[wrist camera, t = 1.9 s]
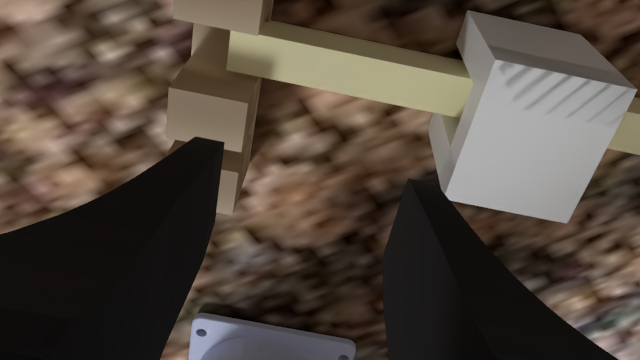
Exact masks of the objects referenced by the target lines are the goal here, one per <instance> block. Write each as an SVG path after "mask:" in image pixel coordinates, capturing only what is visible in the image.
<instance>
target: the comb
mask: <svg viewBox="0 0 640 360" xmlns="http://www.w3.org/2000/svg"><path fill="white" fill-rule="evenodd" d="M273 2H274V0H174V11H173V18H174V19H179V20H184V21H188V22H193V23H194V27H193V40H192V52H191V57H190V59H189V60H188V62H187V63H186V64H185V66H184V67H183V68H182V70H181V71H180V73H179V74H178V75H177V77H176V78H175V80H174V81H173V82H172V84H171V85H170V87H169V94H168V111H167V128H166V138H170V139H175V141H174V143H173V145H172V147H171V148H170V150H169V152H168V153H167V155H166V156H168V155H169V154H171V153H172V152H174V151H175V150H176V149H178V148H179V147H181V146H182V145H183V144H185V143H186V142H188V141H189V140H191V139H192V138H194V137H196V136H197V137H202V138H207V139H212V140H217V141H222V142H225V144H224V152H223V160H222V168H221V176H220V185H219V193H218V201H217V209H216V212H217V213H222V214H227V215H233V212H234V209H235V206H236V203H237V200H238V197H239V194H240V191H241V188H242V185H243V181H244V178H245V175H246V172H247V169H248V166H249V161H250V155H251V148H252V141H253V135H254V128H255V122H256V115H257V108H258V102H259V95H260V89H261V82H262V77H258V76H253V75H248V74H243V73H238V72H233V71H229V70H226V67H227V59H228V50H229V41H230V33H231V31H236V32H241V33H246V34H250V35H255V36H258V35H259V32H260V30H261V28H262V26H263V24H264V22H269V23H270V21H271V16H272V9H273Z"/></svg>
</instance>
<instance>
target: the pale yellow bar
mask: <svg viewBox="0 0 640 360" xmlns="http://www.w3.org/2000/svg"><path fill="white" fill-rule="evenodd" d="M226 70H229V71H233V72H238V73H243V74H248V75H253V76H258V77H263V78H267V79H272V80H277V81H282V82H287V83H292V84H297V85H301V86H306V87H311V88H316V89H321V90H326V91H331V92H335V93H340V94H345V95H350V96H355V97H360V98H365V99H369V100H374V101H379V102H384V103H389V104H394V105H399V106H403V107H408V108H413V109H418V110H423V111H428V112H433V113H437V114H442V115H447V116H452V117H457V118H461V116H462V113H463V110H464V108H465V105H466V102H467V99H468V97H469V94H470V91H471V88H472V85H473V82H472V80H471V77H470V75H469V73H468V70H467V68H466V66H465V63H464V61H461V60H457V59H452V58H447V57H442V56H438V55H433V54H428V53H423V52H419V51H414V50H409V49H405V48H400V47H395V46H390V45H386V44H381V43H376V42H371V41H367V40H362V39H357V38H352V37H348V36H343V35H338V34H333V33H329V32H324V31H319V30H315V29H310V28H305V27H300V26H296V25H291V24H286V23H281V22H277V21H272V20H271V21H270V23H269V22H264V24H263V26H262V28H261V30H260V32H259V35H258V36H255V35H250V34H246V33H241V32H236V31H231V33H230V41H229V50H228V59H227V67H226ZM607 148H608V149H612V150H617V151H622V152H627V153H632V154H637V155H640V98H637V97H634V98H633V100H632V102H631V103H630V105H629V107H628V109H627V111H626V113H625V115H624V117H623V119H622V121H621V122H620V124H619V126H618V128H617V130H616V132H615V134H614V136H613V138H612V140H611V141H610V143H609V145H608V147H607Z"/></svg>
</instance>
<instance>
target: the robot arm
mask: <svg viewBox="0 0 640 360" xmlns="http://www.w3.org/2000/svg"><path fill="white" fill-rule="evenodd" d="M224 144H225V142H222V141H217V140H212V139H207V138H202V137H197V136H196V137H194V138H192V139H191V140H189V141H188V142H186V143H185V144H183V145H182V146H181V147H179V148H178V149H176V150H175V151H174V152H172V153H171V154H169V155H168V156H166V157H165V158H164V159H162V160H161V161H159V162H158V163H156V164H155V165H153V166H152V167H150V168H149V169H147V170H145V171H144V172H142V173H141V174H139V175H138V176H136V177H135V178H133V179H131V180H129V181H128V182H126V183H124V184H122V185H121V186H119V187H117V188H115V189H114V190H112V191H110V192H108V193H107V194H105V195H103V196H101V197H99V198H97V199H94V200H92V201H90V202H88V203H86V204H84V205H81V206H79V207H77V208H74V209H72V210H70V211H67V212H65V213H63V214H60V215H58V216H55V217H52V218H49V219H46V220H43V221H40V222H37V223H34V224H32V225H29V226H26V227H23V228H20V229H17V230H14V231H11V232H7V233H4V234H0V360H160V358H161V355H162V352H163V350H164V347H165V345H166V342H167V340H168V338H169V336H170V333H171V331H172V329H173V327H174V325H175V322H176V320H177V318H178V316H179V313H180V311H181V309H182V307H183V305H184V302H185V300H186V298H187V296H188V293H189V291H190V289H191V287H192V284H193V282H194V280H195V278H196V275H197V273H198V271H199V269H200V266H201V264H202V262H203V259H204V256H205V253H206V250H207V246H208V243H209V240H210V236H211V233H212V230H213V226H214V223H215V217H216V209H217V201H218V193H219V185H220V176H221V168H222V160H223V152H224ZM382 295H383V306H384V316H385V327H386V336H387V346H388V356H389V360H618V359H617V358H615V357H614V356H612V355H611V354H609V353H608V352H606V351H605V350H603V349H602V348H601V347H599V346H598V345H596V344H595V343H593V342H592V341H591V340H589V339H588V338H587V337H585V336H584V335H583V334H581V333H580V332H579V331H577V330H576V329H575V328H573V327H572V326H571V325H570V324H568V323H567V322H566V321H564V320H563V319H562V318H561V317H559V316H558V315H557V314H556V313H554V312H553V311H552V310H551V309H550V308H548V307H547V306H546V305H545V304H544V303H543V302H542V301H541V300H539V299H538V298H537V297H536V296H535V295H534V294H533V293H532V292H531V291H529V290H528V289H527V288H526V287H525V286H524V285H523V284H522V283H521V282H520V281H519V280H518V279H517V278H516V277H515V276H514V275H513V274H512V273H511V272H510V271H509V270H508V269H507V268H506V267H505V266H504V265H503V264H502V263H501V262H500V260H499V259H498V258H497V257H496V256H495V255H494V254H493V253H492V252H491V251H490V249H489V248H488V247H487V246H486V245H485V244H484V243H483V241H482V240H481V239H480V238H479V237H478V235H477V234H476V233H475V232H474V231H473V229H472V228H471V227H470V226H469V224H468V223H467V222H466V221H465V219H464V218H463V217H462V216H461V214H460V213H459V212H458V210H457V209H456V208H455V207H454V205H453V204H452V203H451V201H450V200H449V199H448V198H447V196H446V195H445V194H444V193H443V191H442V190H441V189H440V188H439V187H438V186H437V184H432V183H427V182H422V181H417V180H412V179H408V181H407V184H406V187H405V190H404V193H403V196H402V199H401V202H400V205H399V208H398V211H397V215H396V218H395V221H394V224H393V227H392V230H391V233H390V236H389V239H388V242H387V245H386V248H385V251H384V261H383V288H382ZM200 329H203V330H205V331H203V330H200ZM355 354H356V344H355V343H354V342H353V341H352V340H349V339H344V338H339V337H334V336H328V335H323V334H317V333H312V332H306V331H301V330H295V329H290V328H284V327H279V326H274V325H268V324H263V323H257V322H252V321H246V320H241V319H235V318H230V317H224V316H219V315H214V314H208V313H198V314H196V315H195V317H194V319H193V322H192V329H191V339H190V348H189V357H188V360H354V357H355ZM341 355H346V356H341Z"/></svg>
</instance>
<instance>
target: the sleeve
mask: <svg viewBox="0 0 640 360" xmlns="http://www.w3.org/2000/svg"><path fill="white" fill-rule="evenodd" d="M456 45H457V47H458V49H459V52H460V54H461V56H462V59H463V61H464V63H465V66H466V68H467V70H468V73H469V75H470V77H471V80H472V82H473V85H472V88H471V91H470V94H469V97H468V99H467V102H466V105H465V108H464V110H463V113H462V116H461V118H457V117H452V116H447V115H442V114H437V113H433V115H432V118H431V121H430V124H429V127H428V132H429V137H430V141H431V146H432V150H433V155H434V159H435V164H436V168H437V173H438V177H439V182H440V186H441V190H442V191H443V193H444V194H445V195H446V196H447V198H448V199H449V200H450V201H455V202H460V203H465V204H470V205H475V206H480V207H485V208H490V209H495V210H501V211H506V212H511V213H516V214H521V215H526V216H531V217H536V218H541V219H546V220H551V221H556V222H561V223H566V224H567V223H568V221H569V219H570V217H571V216H572V214H573V212H574V210H575V208H576V206H577V204H578V202H579V200H580V198H581V197H582V195H583V193H584V191H585V189H586V187H587V185H588V183H589V181H590V179H591V178H592V176H593V174H594V172H595V170H596V168H597V166H598V164H599V162H600V160H601V159H602V157H603V155H604V153H605V151H606V149H607V147H608V145H609V143H610V141H611V140H612V138H613V136H614V134H615V132H616V130H617V128H618V126H619V124H620V122H621V121H622V119H623V117H624V115H625V113H626V111H627V109H628V107H629V105H630V103H631V102H632V100H633V98H634V96H635V94H636V92H637V90H638V89H636V88H635V87H634V86H633V85H632V84H631V83H630V82H629V81H628V80H627V79H626V78H625V77H624V76H623V75H622V74H621V73H620V72H619V71H618V70H617V69H616V68H615V67H614V66H613V65H612V64H611V63H610V62H608V61H607V60H606V59H605V58H604V57H603V56H602V55H601V54H600V53H599V52H598V51H597V50H596V49H595V48H594V47H593V46H592V45H591V44H590V43H589V42H588V41H587V40H586V39H585V38H584V37H583V36H582V35H580V34H576V33H571V32H566V31H562V30H557V29H553V28H548V27H543V26H539V25H534V24H529V23H525V22H520V21H516V20H511V19H506V18H502V17H497V16H492V15H488V14H483V13H478V12H474V11H469V10H467V12H466V15H465V18H464V21H463V25H462V28H461V31H460V34H459V37H458V40H457V43H456Z"/></svg>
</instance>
